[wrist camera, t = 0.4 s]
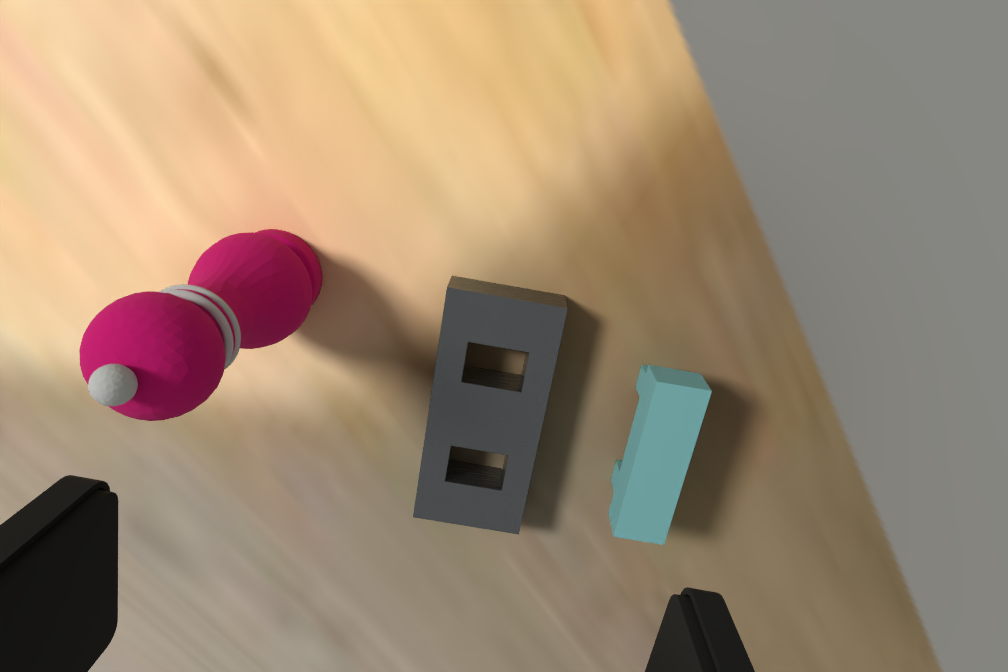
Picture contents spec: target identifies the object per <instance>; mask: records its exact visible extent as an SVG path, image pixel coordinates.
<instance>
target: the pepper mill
mask: <svg viewBox="0 0 1008 672" xmlns="http://www.w3.org/2000/svg"><path fill="white" fill-rule="evenodd" d="M321 285H322V272H321V267H320V264H319V261H318V259H317V257H316V255H315V253H314V252H313V251H312V249H311V248H310V247H309V246H308V245H307V244H306V243H305V242H304V241H303V240H301V239H300V238H299V237H297V236H295V235H293V234H291V233H289V232H286V231H282V230H276V229H268V230H262V231H258V232H255V233H238V234H234V235H230V236H228V237H225V238H223V239H221V240H220V241H218V242H217V243H215V244H214V245H212V246H211V247H210V248H209V249H207V250H206V251H205V252H204V253H203V254H202V255H201V257H200V258H199V259H198V261H197V263H196V264H195V266H194V268H193V270H192V272H191V274H190V277H189V280H188V285H174V286H170V287H167V288H165V289H163V290H161V291H160V292H141V293H134V294H132V295H129V296H126V297H123V298H120V299H118V300H116V301H115V302H113V303H111V304H110V305H108V306H107V307H105V308H104V309H103V310H102V311H100V312H99V313H98V314H97V315H96V317H95V318H94V319H93V320H92V321H91V323H90V324H89V326H88V328H87V329H86V331H85V333H84V335H83V338H82V342H81V346H80V367H81V370H82V374H83V377H84V378H85V380H86V382H87V384H88V390H89V393H90V394H91V396H92V398H93V399H94V400H95V401H97V402H98V403H100V404H102V405H106V406H109V407H110V408H112V409H113V410H115V411H117V412H119V413H121V414H123V415H125V416H128V417H131V418H135V419H140V420H147V421H156V420H165V419H169V418H174V417H178V416H181V415H183V414H185V413H187V412H189V411H191V410H193V409H195V408H196V407H197V406H199V405H200V404H202V403H203V402H204V401H206V400H207V399H208V397H209V396H210V395H211V394H212V393H213V391H214V390H215V389H216V388H217V387H218V385H219V382H220V380H221V378H222V376H223V372H224V369H226V368H227V367H228V366H229V365H231V363H232V362H233V361H234V359H235V358H236V356H237V354H238V352H239V348H243V349H254V348H260V347H265V346H269V345H272V344H275V343H277V342H279V341H281V340H283V339H285V338H286V337H288V336H289V335H291V334H292V333H293V332H294V331H296V330H297V329H298V328H299V327H300V326H301V324H302V323H303V322H304V320H305V318H306V317H307V315H308V312H309V310H310V306H311V305H312V304H313V303H314V302H315V300H316V299H317V297H318V295H319V293H320V289H321Z"/></svg>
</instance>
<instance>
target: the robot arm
mask: <svg viewBox="0 0 1008 672" xmlns="http://www.w3.org/2000/svg"><path fill="white" fill-rule="evenodd" d="M117 620H118V497H117V495H116V493H114V492H110V487H109V485H108V484H107V483H106V482H104V481H100V480H94V479H89V478H83V477H78V476H72V475H69V476H65V477H63V478H62V479H60V480H59V481H57V482H56V483H55V484H53V485H52V486H51V487H50V488H48V489H47V490H46V491H44V492H43V493H42V494H40V495H39V496H38V497H37V498H35V499H34V500H33V501H31V502H30V503H29V504H27V505H26V506H25V507H23V508H22V509H21V510H20V511H18V512H17V513H16V514H14V515H13V516H12V517H10V518H9V519H8V520H6V521H5V522H4V523H3V524H1V525H0V672H88V670H89V669H90V668H91V667H92V665H93V664H94V663H95V662H96V660H97V659H98V658H99V657H100V655H101V654H102V653H103V652H104V650H105V649H106V648H107V646H108V645H109V643H110V642H111V640H112V638H113V636H114V633H115V631H116V627H117ZM645 672H755V671H754V669H753V666H752V664H751V662H750V659H749V657H748V655H747V652H746V650H745V648H744V645H743V643H742V641H741V638H740V636H739V634H738V631H737V629H736V627H735V624H734V622H733V620H732V617H731V615H730V613H729V610H728V608H727V606H726V603H725V601H724V599H723V597H722V596H721V595H720V594H719V593H715V592H710V591H704V590H699V589H693V588H684V590H683V591H682V592H681V595H676V594H674V595H672V596H671V598H670V600H669V603H668V605H667V608H666V611H665V614H664V617H663V620H662V623H661V626H660V629H659V632H658V635H657V638H656V641H655V644H654V647H653V649H652V652H651V655H650V658H649V661H648V664H647V667H646V670H645Z"/></svg>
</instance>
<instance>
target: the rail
mask: <svg viewBox="0 0 1008 672" xmlns="http://www.w3.org/2000/svg"><path fill="white" fill-rule="evenodd" d="M567 310H568V307H567V302H566V298H565V296H564V295H559V294H553V293H547V292H542V291H536V290H530V289H524V288H519V287H513V286H507V285H502V284H496V283H490V282H485V281H479V280H473V279H467V278H462V277H456V276H452V277H451V279H450V282H449V284H448V286H447V291H446V298H445V305H444V312H443V318H442V325H441V332H440V339H439V345H438V352H437V359H436V366H435V372H434V379H433V386H432V393H431V399H430V406H429V413H428V420H427V426H426V433H425V440H424V447H423V453H422V460H421V467H420V474H419V480H418V487H417V494H416V501H415V507H414V514H413V517H415V518H421V519H428V520H434V521H440V522H446V523H452V524H458V525H464V526H471V527H477V528H483V529H489V530H495V531H501V532H507V533H513V534H519V531H520V526H521V522H522V517H523V512H524V508H525V503H526V499H527V494H528V489H529V485H530V480H531V476H532V471H533V466H534V462H535V457H536V453H537V448H538V443H539V439H540V434H541V430H542V425H543V420H544V416H545V411H546V407H547V402H548V397H549V393H550V388H551V384H552V379H553V374H554V370H555V365H556V361H557V356H558V351H559V347H560V342H561V338H562V333H563V328H564V324H565V319H566V315H567ZM469 342H472V343H477V344H483V345H489V346H495V347H501V348H506V349H512V350H518V351H524V352H526V355H525V360H524V365H523V370H522V375H517V374H511V373H505V372H499V371H493V370H488V369H482V368H476V367H470V366H465V362H466V356H467V350H468V344H469ZM452 446H456V447H462V448H468V449H474V450H480V451H486V452H492V453H498V454H504V455H506V456H505V461H504V466H503V469H501V468H495V467H489V466H483V465H476V464H470V463H464V462H458V461H452V460H449V459H450V453H451V447H452Z"/></svg>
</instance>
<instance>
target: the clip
mask: <svg viewBox="0 0 1008 672" xmlns="http://www.w3.org/2000/svg"><path fill="white" fill-rule="evenodd" d="M636 389H637V391H638V394H639V396H640V398H639V402H638V406H637V409H636V413H635V417H634V420H633V424H632V428H631V431H630V435H629V439H628V442H627V446H626V450H625V454H624V457H623V461H620V460H616V463H615V466H614V470H613V474H612V478H611V482H612V487H613V491H614V494H613V498H612V501H611V505H610V509H609V517H610V522H611V527H612V532H613V536H614V537H619V538H626V539H632V540H638V541H644V542H650V543H656V544H662V545H664V543H665V540H666V536H667V533H668V530H669V527H670V524H671V520H672V517H673V514H674V511H675V508H676V504H677V501H678V498H679V495H680V492H681V488H682V485H683V482H684V479H685V476H686V472H687V469H688V466H689V463H690V460H691V456H692V453H693V450H694V447H695V444H696V440H697V437H698V434H699V431H700V428H701V424H702V421H703V418H704V415H705V412H706V409H707V405H708V402H709V399H710V396H711V393H712V390H711V389H710V387H709V386H708V384H707V383H706V381H705V380H704V378H703V377H702V375H701V374H699V373H693V372H687V371H682V370H676V369H670V368H664V367H658V366H653V365H648V366H646V365H641V369H640V373H639V377H638V380H637V384H636Z"/></svg>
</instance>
